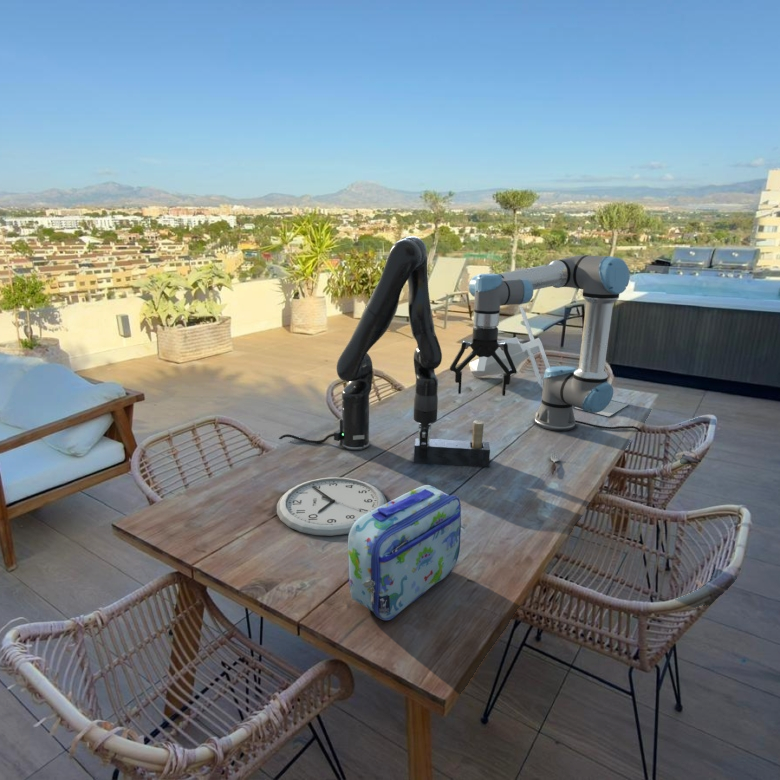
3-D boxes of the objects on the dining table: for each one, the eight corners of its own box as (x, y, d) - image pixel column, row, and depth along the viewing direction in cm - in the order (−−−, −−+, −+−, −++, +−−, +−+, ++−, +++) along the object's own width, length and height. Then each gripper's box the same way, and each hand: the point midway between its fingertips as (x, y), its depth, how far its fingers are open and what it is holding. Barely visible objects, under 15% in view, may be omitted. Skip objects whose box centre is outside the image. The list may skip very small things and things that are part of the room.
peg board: (487, 458, 173) (488, 442, 172) (488, 467, 167) (490, 450, 165) (415, 454, 176) (415, 437, 174) (413, 462, 170) (414, 445, 168)
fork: (547, 475, 162) (548, 469, 162) (551, 455, 176) (551, 449, 176) (556, 476, 161) (557, 470, 161) (559, 456, 176) (560, 451, 175)
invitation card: (608, 416, 214) (573, 407, 224) (608, 416, 214) (573, 408, 224) (628, 404, 229) (594, 396, 238) (628, 405, 229) (594, 397, 238)
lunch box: (378, 635, 98) (379, 537, 91) (341, 606, 105) (340, 513, 99) (464, 574, 115) (470, 488, 109) (427, 553, 122) (431, 471, 116)
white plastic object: (489, 418, 267) (470, 395, 242) (471, 346, 289) (451, 318, 264) (561, 394, 254) (547, 368, 230) (535, 321, 277) (521, 289, 252)
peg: (480, 464, 169) (483, 424, 165) (470, 463, 169) (473, 423, 165) (480, 460, 172) (483, 420, 168) (470, 459, 172) (473, 420, 168)
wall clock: (392, 527, 129) (268, 531, 127) (391, 533, 130) (269, 537, 127) (383, 473, 158) (282, 475, 155) (383, 478, 158) (282, 480, 156)
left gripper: (415, 398, 174) (414, 445, 179) (412, 413, 161) (410, 462, 165) (438, 400, 173) (435, 446, 178) (436, 414, 160) (434, 464, 165)
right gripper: (526, 325, 160) (520, 391, 166) (444, 322, 162) (441, 388, 169) (529, 330, 152) (523, 399, 159) (443, 327, 155) (441, 395, 162)
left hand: (423, 454), depth 172 cm, fingers closed on peg board, 6 cm apart
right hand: (481, 393), depth 164 cm, fingers open, 13 cm apart
